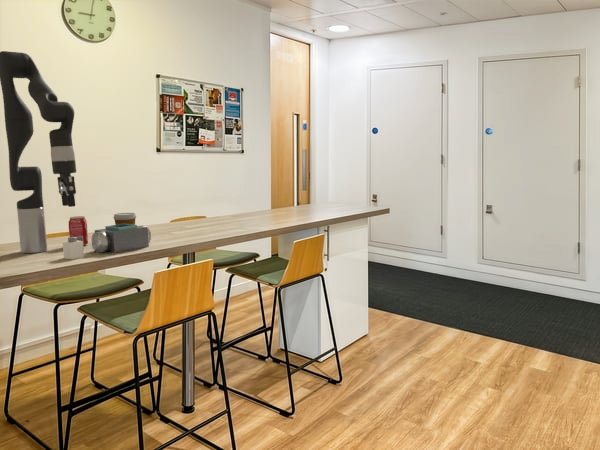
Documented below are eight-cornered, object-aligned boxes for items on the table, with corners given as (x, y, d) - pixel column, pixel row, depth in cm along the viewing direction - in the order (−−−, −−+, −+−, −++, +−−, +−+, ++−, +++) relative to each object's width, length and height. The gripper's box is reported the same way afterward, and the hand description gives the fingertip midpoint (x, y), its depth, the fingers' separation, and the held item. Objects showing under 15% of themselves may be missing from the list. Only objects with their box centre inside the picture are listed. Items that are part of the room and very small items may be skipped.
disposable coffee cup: (110, 242, 220) (108, 214, 218) (124, 238, 228) (122, 212, 227) (128, 243, 216) (126, 215, 215) (142, 239, 225) (140, 212, 224)
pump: (63, 258, 187) (62, 238, 186) (76, 255, 191) (74, 236, 190) (71, 259, 184) (69, 239, 183) (84, 257, 188) (82, 237, 187)
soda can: (82, 243, 218) (80, 215, 217) (92, 245, 214) (89, 216, 212) (66, 246, 212) (64, 217, 211) (76, 247, 208) (73, 218, 207)
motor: (89, 251, 199) (87, 228, 198) (136, 242, 217) (134, 221, 216) (107, 254, 192) (106, 230, 191) (154, 245, 210) (153, 223, 209)
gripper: (47, 161, 182) (53, 206, 184) (56, 159, 170) (62, 208, 172) (69, 160, 186) (75, 204, 188) (79, 158, 175) (85, 205, 177)
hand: (68, 206), depth 180 cm, fingers open, 8 cm apart
